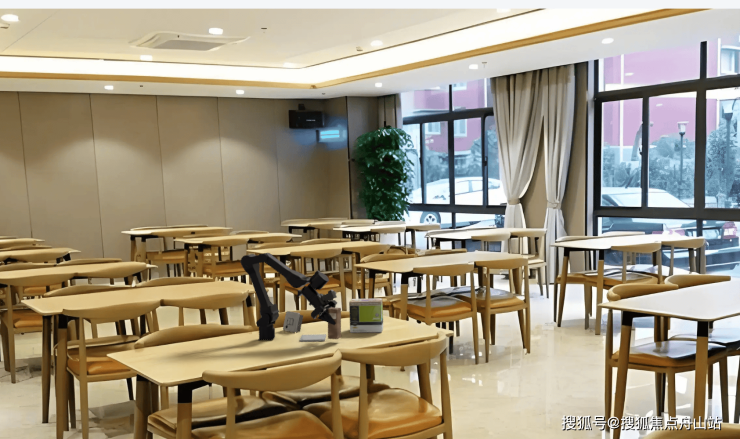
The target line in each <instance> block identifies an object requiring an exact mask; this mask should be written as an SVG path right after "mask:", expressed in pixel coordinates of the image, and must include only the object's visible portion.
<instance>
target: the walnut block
mask: <svg viewBox="0 0 740 439" xmlns="http://www.w3.org/2000/svg"><path fill="white" fill-rule="evenodd" d="M329 314H330V315H331V317H332V318H333V320H334V321H335V323H336V324H335V325H332V324H330V323H328V322H327V340H339V339H341V338H342V308H341V307H335V308H333V307H331V308H329Z"/></svg>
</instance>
